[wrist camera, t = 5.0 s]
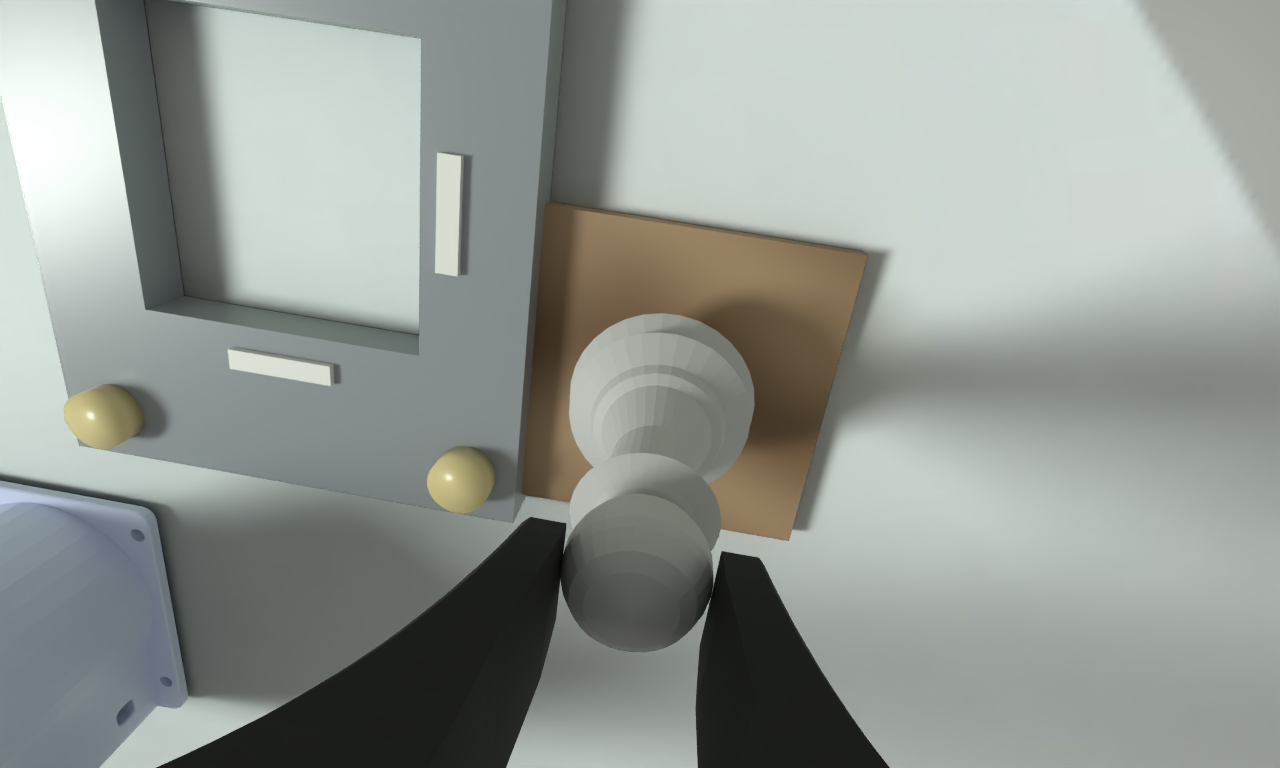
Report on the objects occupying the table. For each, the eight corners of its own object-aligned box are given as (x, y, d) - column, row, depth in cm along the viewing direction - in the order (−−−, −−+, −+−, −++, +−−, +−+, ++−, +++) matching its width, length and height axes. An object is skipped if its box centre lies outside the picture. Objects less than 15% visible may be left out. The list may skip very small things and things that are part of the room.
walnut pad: (787, 529, 21) (788, 541, 20) (511, 481, 21) (506, 491, 21) (862, 251, 17) (868, 256, 17) (531, 198, 18) (526, 201, 17)
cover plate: (525, 496, 22) (505, 538, 19) (118, 425, 22) (55, 457, 20) (583, -190, 15) (560, -243, 12) (-16, -270, 15) (-135, -333, 13)
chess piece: (786, 354, 16) (852, 567, 9) (706, 499, 18) (706, 770, 11) (611, 279, 16) (531, 437, 9) (547, 434, 18) (439, 671, 11)
